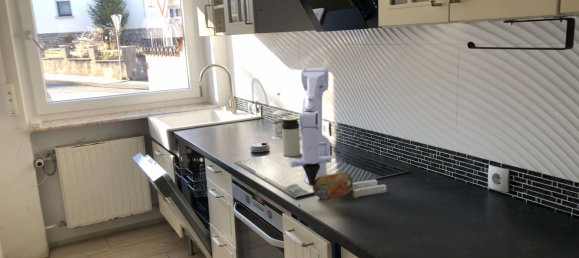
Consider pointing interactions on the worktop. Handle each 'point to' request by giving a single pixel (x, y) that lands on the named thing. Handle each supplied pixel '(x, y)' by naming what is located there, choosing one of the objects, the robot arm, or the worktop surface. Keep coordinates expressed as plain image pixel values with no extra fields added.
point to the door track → (367, 188)
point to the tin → (332, 185)
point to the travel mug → (291, 136)
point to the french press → (278, 124)
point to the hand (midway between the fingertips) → (311, 184)
